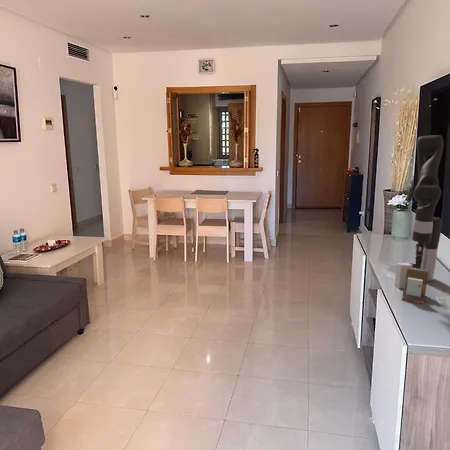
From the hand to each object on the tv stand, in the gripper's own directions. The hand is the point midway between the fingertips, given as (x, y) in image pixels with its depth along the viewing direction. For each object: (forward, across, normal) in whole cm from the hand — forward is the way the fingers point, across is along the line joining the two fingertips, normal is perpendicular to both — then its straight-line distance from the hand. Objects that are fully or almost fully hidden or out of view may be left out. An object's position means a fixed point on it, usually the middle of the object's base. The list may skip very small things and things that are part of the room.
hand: (418, 265), depth 183 cm
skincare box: (+17, -15, -6) cm, 23 cm away
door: (+15, +1, -1) cm, 15 cm away
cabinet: (+16, -3, 0) cm, 17 cm away
